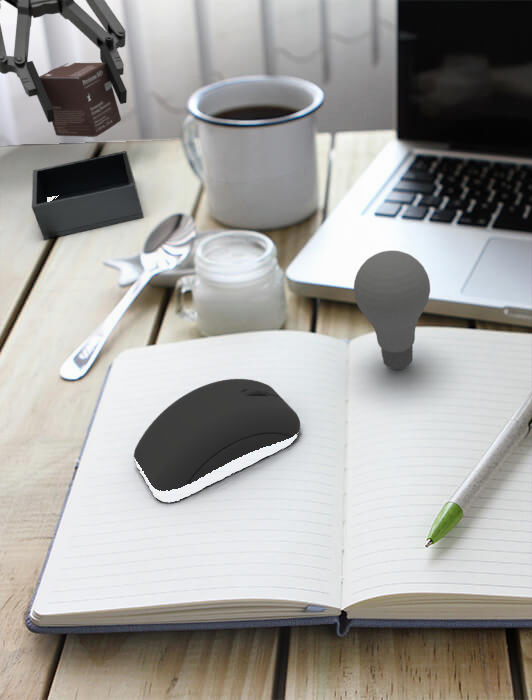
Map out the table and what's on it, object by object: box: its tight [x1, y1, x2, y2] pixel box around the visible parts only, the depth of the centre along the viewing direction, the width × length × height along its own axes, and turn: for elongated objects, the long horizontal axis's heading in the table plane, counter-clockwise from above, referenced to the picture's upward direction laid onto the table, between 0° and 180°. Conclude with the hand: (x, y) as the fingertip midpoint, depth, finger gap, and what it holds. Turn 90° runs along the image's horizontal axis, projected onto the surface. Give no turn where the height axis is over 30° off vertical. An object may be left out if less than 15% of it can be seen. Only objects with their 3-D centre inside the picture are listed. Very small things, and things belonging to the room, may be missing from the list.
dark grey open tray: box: [31, 150, 144, 241], centre depth 90 cm, size 11×11×4 cm
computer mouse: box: [133, 378, 301, 491], centre depth 55 cm, size 6×11×4 cm, turn 122°
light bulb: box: [353, 250, 431, 370], centre depth 59 cm, size 6×6×10 cm
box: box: [39, 62, 122, 138], centre depth 97 cm, size 6×6×7 cm
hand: (87, 106), depth 94 cm, fingers closed on box, 8 cm apart
